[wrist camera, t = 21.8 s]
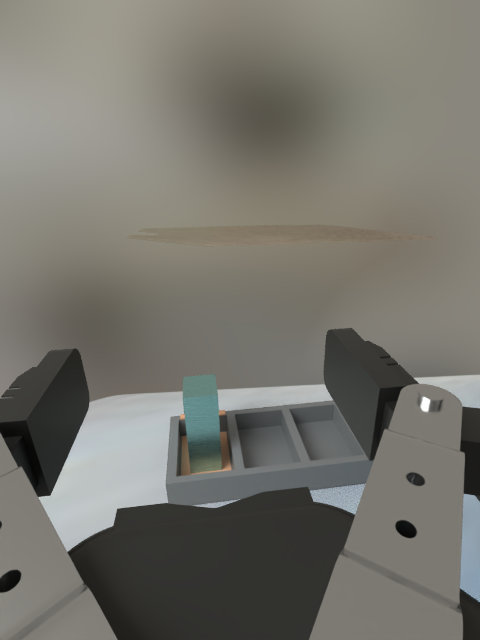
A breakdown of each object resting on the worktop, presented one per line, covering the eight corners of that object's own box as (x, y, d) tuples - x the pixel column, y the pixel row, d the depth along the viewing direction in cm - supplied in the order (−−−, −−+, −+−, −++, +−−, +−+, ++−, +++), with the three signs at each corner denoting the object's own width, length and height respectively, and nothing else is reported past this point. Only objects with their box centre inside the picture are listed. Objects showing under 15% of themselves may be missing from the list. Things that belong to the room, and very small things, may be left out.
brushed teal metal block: (219, 444, 44) (215, 374, 40) (222, 469, 41) (217, 394, 37) (190, 447, 44) (183, 376, 40) (190, 473, 40) (182, 398, 36)
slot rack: (337, 420, 49) (339, 398, 48) (373, 482, 40) (377, 457, 38) (173, 437, 47) (170, 415, 46) (169, 508, 37) (165, 482, 36)
